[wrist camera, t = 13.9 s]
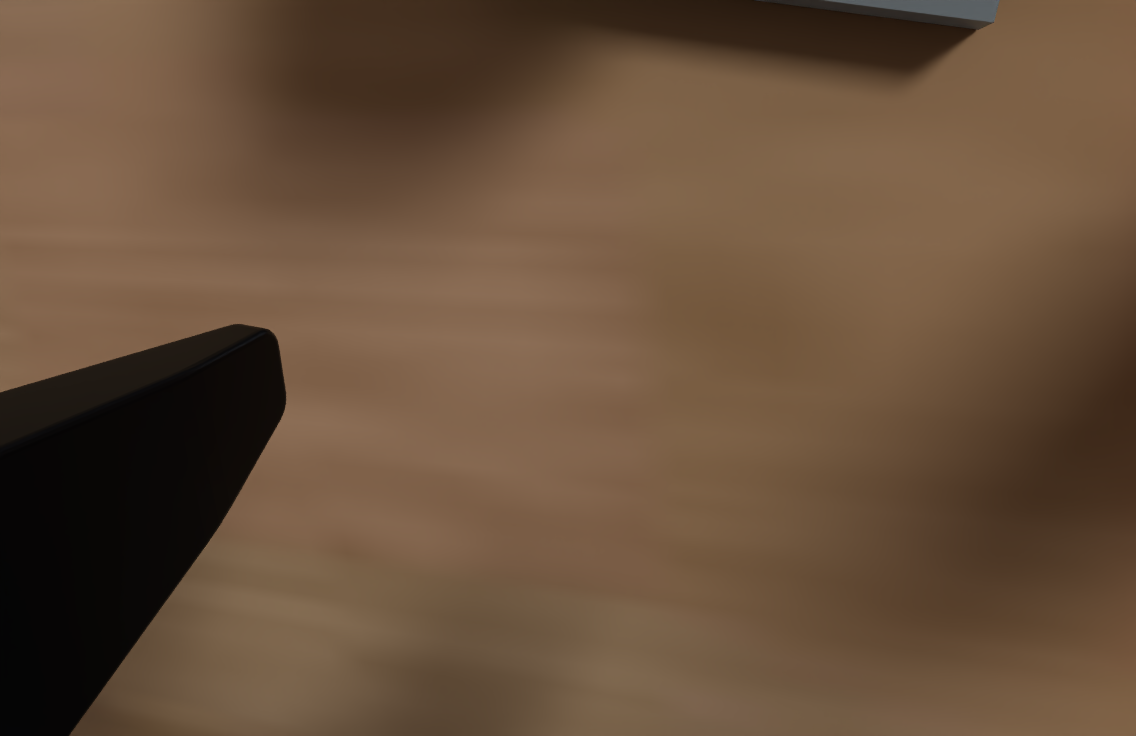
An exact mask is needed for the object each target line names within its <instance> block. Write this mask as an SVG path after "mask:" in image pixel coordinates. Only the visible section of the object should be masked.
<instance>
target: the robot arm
mask: <svg viewBox="0 0 1136 736" xmlns="http://www.w3.org/2000/svg"><path fill="white" fill-rule="evenodd" d="M285 405H286V390H285V383H284V376H283V370H282V363H281V357H280V350H279V345H278V340H277V338H276V336H275V335H274V333H272V332H271V331H270V330H268V329H265V328H260V327H254V326H248V325H243V324H234V325H229V326H226V327H223V328H219V329H216V330H212V331H209V332H205V333H202V334H199V335H195V336H192V337H188V338H185V339H181V340H178V341H175V342H171V343H168V344H164V345H161V346H158V347H154V348H151V349H147V350H144V351H140V352H137V353H134V354H130V355H127V356H123V357H120V358H116V359H113V360H110V361H106V362H103V363H99V364H96V365H92V366H89V367H86V368H82V369H79V370H75V371H72V372H69V373H65V374H62V375H58V376H55V377H51V378H48V379H45V380H41V381H38V382H34V383H31V384H27V385H24V386H21V387H17V388H14V389H10V390H7V391H3V392H0V736H69V735H70V734H71V732H72V731H73V729H74V728H75V727H76V725H77V724H78V722H79V721H80V720H81V718H82V717H83V716H84V714H85V713H86V711H87V710H88V709H89V707H90V706H91V704H92V703H93V702H94V700H95V699H96V698H97V696H98V695H99V693H100V692H101V691H102V689H103V688H104V686H105V685H106V684H107V682H108V681H109V679H110V678H111V677H112V675H113V674H114V673H115V671H116V670H117V668H118V667H119V666H120V664H121V663H122V661H123V660H124V659H125V657H126V656H127V655H128V653H129V652H130V650H131V649H132V648H133V646H134V645H135V643H136V642H137V641H138V639H139V638H140V636H141V635H142V634H143V632H144V631H145V630H146V628H147V627H148V625H149V624H150V623H151V621H152V620H153V618H154V617H155V616H156V614H157V613H158V612H159V610H160V609H161V607H162V606H163V605H164V603H165V602H166V600H167V599H168V598H169V596H170V595H171V594H172V592H173V591H174V589H175V588H176V587H177V585H178V584H179V582H180V581H181V580H182V578H183V577H184V575H185V574H186V573H187V571H188V570H189V569H190V567H191V566H192V564H193V563H194V562H195V560H196V559H197V557H198V556H199V555H200V553H201V552H202V551H203V549H204V548H205V546H206V545H207V544H208V542H209V541H210V539H211V538H212V536H213V535H214V533H215V532H216V530H217V529H218V527H219V526H220V524H221V523H222V521H223V519H224V518H225V516H226V514H227V513H228V511H229V510H230V508H231V506H232V504H233V503H234V501H235V499H236V497H237V496H238V494H239V492H240V490H241V489H242V487H243V485H244V483H245V482H246V480H247V478H248V476H249V475H250V473H251V471H252V469H253V467H254V466H255V464H256V462H257V460H258V459H259V457H260V455H261V453H262V452H263V450H264V448H265V446H266V445H267V443H268V441H269V439H270V437H271V436H272V434H273V432H274V430H275V429H276V427H277V425H278V423H279V422H280V420H281V418H282V416H283V413H284V410H285Z"/></svg>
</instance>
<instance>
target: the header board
mask: <svg viewBox="0 0 1136 736" xmlns="http://www.w3.org/2000/svg"><path fill="white" fill-rule="evenodd" d="M756 1H764V2H772V3H779V4H787V5H794V6H802V7H810V8H817V9H825V10H833V11H840V12H848V13H855V14H863V15H871V16H878V17H886V18H894V19H901V20H909V21H916V22H924V23H932V24H939V25H947V26H954V27H962V28H970V29H977V30H979V29H981V28H983V27H985V26H987V25H989V24H992V23H994V20H995V16H996V12H997V8H998V4H999V0H756Z"/></svg>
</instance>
